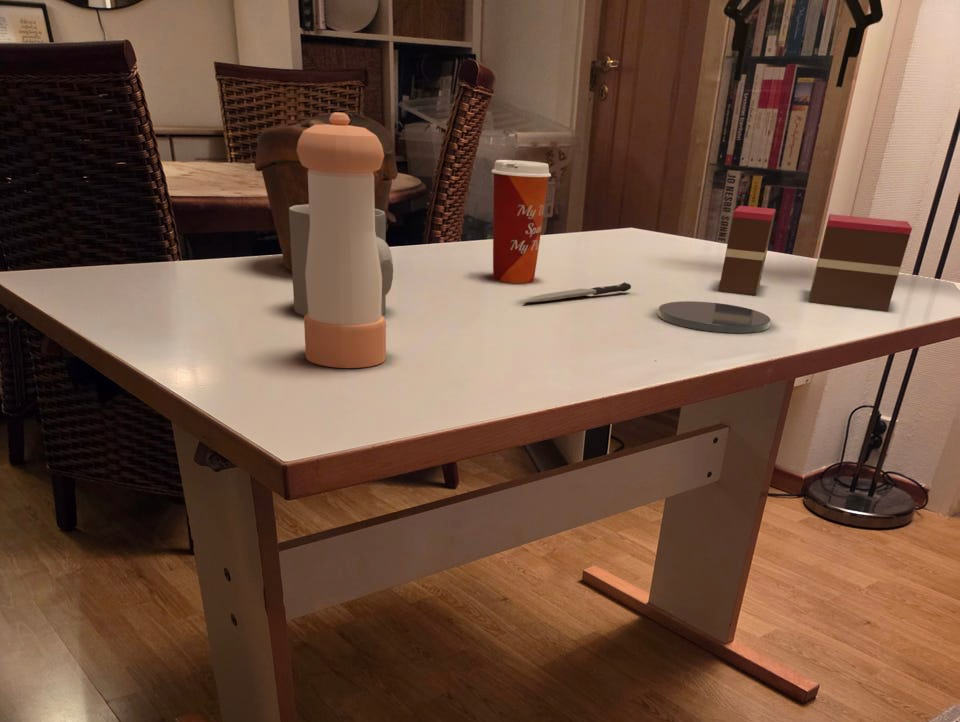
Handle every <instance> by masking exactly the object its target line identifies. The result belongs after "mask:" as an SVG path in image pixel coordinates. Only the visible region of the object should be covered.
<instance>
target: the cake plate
mask: <svg viewBox="0 0 960 722" xmlns="http://www.w3.org/2000/svg"><path fill="white" fill-rule="evenodd" d="M657 316H658V318H660V319H661V320H663V321H664V322H667V323H669V324H672V325H676V326H679V327H682V328H687V329H691V330H697V331H705V332H713V333H723V334H725V333H726V334H752V333H760V332H763V331H766V330H768V329H769V328H770V326H771V317H770V316H768V314H766V313H763V312H761V311H758V310H755V309H751V308H747V307H743V306H738V305H733V304H726V303H720V302H711V301H710V302H709V301H693V300H692V301H691V300H690V301H688V300H686V301H684V300H683V301H671V302H667V303H663V304H660V305H659V306H658V310H657Z"/></svg>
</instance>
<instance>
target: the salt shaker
mask: <svg viewBox="0 0 960 722" xmlns="http://www.w3.org/2000/svg"><path fill="white" fill-rule="evenodd" d="M332 113H333V114H331V116H330V118H329V119H330V122H331V124H324V125H314V126H312V127H310V128H308V129H306V130H304V131H303V133H302V134H301V136H300V138H299V140H298V145H297V154H298V157H299V160H300V162H301V164H302V166H304V167H306V168H308V169H309V170H308V191H309V217H310V230H309V241H308V251H307V261H306V272H305V277H306V290H307V303H308V314H306V315H305V316H303V328H304V347H305V359H306V360H307V361H308V362H310V363H312V364H316V365H317V366H324V367H329V368H337V369H338V368H339V369H359V368H369V367H374V366H377V365H380V364H383V363H384V362H385V361H386V359H387V325H386V324H387V322H386V319H385V316H384V315H383V316H381V305H382V274H381V267H380V261H379V254H378V247H377V240H376V233H375V194H374V174H373V172H374V171H376V170H379V169H380V167H381V165H382V162H383V158H384V152H383V148H382V145H381V143H380V141H379V139H378V137H377V136H376V135H375V134H373V133H372V132H370V131H369V130H367V129H365V128H362V127H356V126H350V125H348V124H349V121H350V119H349V117H348V115H346V114H345V113H346V112H342V113H338V111H337V112H335V111H334V112H332Z"/></svg>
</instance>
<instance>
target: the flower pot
mask: <svg viewBox="0 0 960 722" xmlns="http://www.w3.org/2000/svg"><path fill="white" fill-rule="evenodd" d="M337 112H338V111H337ZM333 113H334V112H330V113H322V114H319V115H316V116H312V117H309V118H307V119H303V121H301V122H298V123H296V124H292V125H283V126H276V127H272V128H268V129H266V130H264V131H262V132H261V133H260V134H259V137H258V138H257V145H256V153H255V158H254V169H255V171H257V172H261V175H262V178H263V183H264V187H265V191H266V196H267V198H268V203H269V207H270V210H271V216H272V220H273V222H274V227H275V231H276V235H277V238H278V242H279V246H280V250H281V254H282V259H283V264H284V267H286V269H288V270H289V271H291V272H292V257H291V239H290V221H289V208H290V207H292V206H296V205H306V204H309V191H308V170H309V169H308V168H306V167H304V166H302V164H301V162H300V160H299V157H298V154H297V145H298V140H299V138H300V136H301V134H302V133H303V131H304V130H306V129H308V128H310V127H312V126H314V125H324V124H331V122H330V119H329V118H330V116H331V114H333ZM338 113H343V112H338ZM344 113H345V114H346V115H348V117H349V119H350V121H349V124H348V125H350V126H356V127H362V128H365V129H367V130H369V131H370V132H372V133H373V134H375V135H376V136H377V137H378V139H379V141H380V143H381V145H382V148H383V152H384V158H383V162H382V165H381V167H380V169H379V170H376V171H374V172H373V174H374V194H375V209H379V210H382V211H384V212H385V216H386V232H387V231H388V229H389V223H388V220H389V221H390V222H392V223H396V222H397V220H396V217H395V215H394V214H393V213H391V212H390V211H389V201H390V194H391V188H392V184H393V181H395V180H396V179H397V177H398V174H399V173H398V166H397V162H396V156H395V155H396V154H395V149H394V148H395V147H394V140H393V136H392V134H391V133H390V131H389V130H388V129H387V128H386V127H384V126H383V125H382V124H381V123H380V122H378V121H376V120H375V119H372V118H370V117H367V116H365V115H362V114H358V113H353V112H352V113H351V112H344Z"/></svg>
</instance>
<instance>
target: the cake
mask: <svg viewBox="0 0 960 722" xmlns="http://www.w3.org/2000/svg"><path fill="white" fill-rule="evenodd" d="M912 230H913V227H912V226H911V224H910V223H909V221H908V220H907V221H906V220H897V219H885V218H874V217H866V216H865V217H864V216H853V215H843V214H835V213H834V214H833V213H829V214H828V218H827V221H826V226H825V229H824V233H823V237H822V242H821V247H820V250H819V254H818V257H817V262H816V267H815V270H814V274H813V278H812V283H811V285H810V291H809V296H808V297H809V298H808V302H809V303H816V304H824V305H832V306H839V307H840V306H841V307H849V308H857V309H865V310H874V311H883V312H888V311H889V308H890V304H891V302H892V299H893V294H894V291H895V288H896V284H897V281H898V278H899V274H900V270H901V267H902V264H903V262H904V261H903V260H904V257H905V253H906V251H907V248H908V247H907V246H908V244H909V240H910V236H911V233H912Z"/></svg>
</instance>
